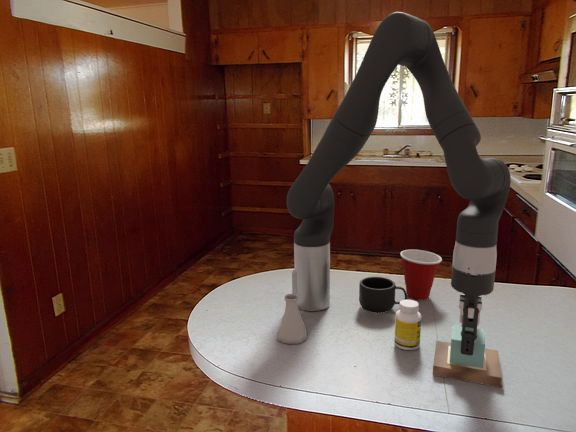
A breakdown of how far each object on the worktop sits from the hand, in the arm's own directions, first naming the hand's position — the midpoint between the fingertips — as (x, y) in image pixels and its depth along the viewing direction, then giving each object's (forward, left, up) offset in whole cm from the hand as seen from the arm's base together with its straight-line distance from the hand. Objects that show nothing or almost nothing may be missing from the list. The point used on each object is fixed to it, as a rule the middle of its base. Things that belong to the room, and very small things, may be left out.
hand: (466, 342), depth 88 cm
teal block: (0, 0, -3) cm, 3 cm away
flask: (-37, 0, -6) cm, 37 cm away
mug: (-20, +21, -6) cm, 29 cm away
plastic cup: (-12, +32, -6) cm, 35 cm away
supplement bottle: (-12, +5, -6) cm, 14 cm away
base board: (0, 0, -5) cm, 5 cm away
